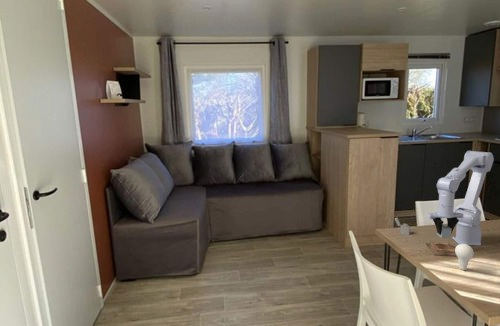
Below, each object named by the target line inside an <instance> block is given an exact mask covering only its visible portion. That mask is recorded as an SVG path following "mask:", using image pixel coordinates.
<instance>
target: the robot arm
mask: <svg viewBox="0 0 500 326" xmlns="http://www.w3.org/2000/svg"><path fill="white" fill-rule="evenodd" d="M494 160H495V158H494V155H493V153H492V152H489V151H488V152H485V151H474V150H467V151H466V152H465V153H464V157H463V160H462V162H461V163H460V165H459V166H458V167H453V168H452V169H451V170H450V171H449V172H448V173H447V174H446V176H444V177H441V178H439V179H438V180H437V183H436V188H437V193H438V209H437V212H432V213H427V219H429V220H432V221H433V222H434V225H435V227H436V228H435V229H436V234H437V233H438V234H441V232H442V225H444V220H443V219H446V221H447V222H446V223H447V226H449V227H450V228H452V229H451V235H452V234H453V232H454V230H455V236H451V238H452V239H453V240H454V241H455V242H456V243H457V245H459V244H467V245H469V246H482V243H481V242H482V227H481V226H480V225H479V224H480V223H481V220H482V218H481V217H482V211H481V210H480V209H479V207H478V206H477V204H478V200H479V197H480V194H481V191H482V188H483V184H484V183H485V182H484V181H485V178H486V174H487V173H488V172H491V169H492V167H493V164H494ZM469 170H471V171H472V174H471V178H470V180H469V181H470V182H469V184H468V188H467V191H466V193H465V197H464V199H463V202H462V203H460V204H457V205H456V207H454V206H455V194H456V192H457V191H458V188H459V186H460V183H461V182H462V181H463V180H464V179H465V178H466V177H467V174H466V173H467V172H468V171H469ZM455 227H456V229H455Z"/></svg>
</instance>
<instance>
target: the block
mask: <svg viewBox="0 0 500 326" xmlns="http://www.w3.org/2000/svg"><path fill="white" fill-rule="evenodd" d="M451 229H452V228H450V227H449V226H448V224H443V225H442V232H441V234H438V233H437V232H436V235H437V236H438V237H440V238H441V239H451V238H452V234H451Z"/></svg>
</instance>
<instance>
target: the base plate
mask: <svg viewBox="0 0 500 326" xmlns="http://www.w3.org/2000/svg"><path fill="white" fill-rule="evenodd" d="M425 245H426V247H427V248H428V249H429V251H430V252H431V254H433V256H434V257H456V258H458V257H457V255H456V253H455V248H456V246H454V245H453V244H451V243H449V242H448V243H447V242H445V243H444V242H431V243H426V244H425Z"/></svg>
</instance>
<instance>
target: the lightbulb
mask: <svg viewBox="0 0 500 326" xmlns="http://www.w3.org/2000/svg"><path fill="white" fill-rule="evenodd" d="M455 253H456V255H457V257H456V258H457V259H458V266H459V267H458V268H459V269H460V270H462V271H467V269H468V265H469V262H470V260H471V259H472V258H473V257H474V253H475V252H474V249H473V248H472V246H471V245H467V244H457V245H456V246H455Z"/></svg>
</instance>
